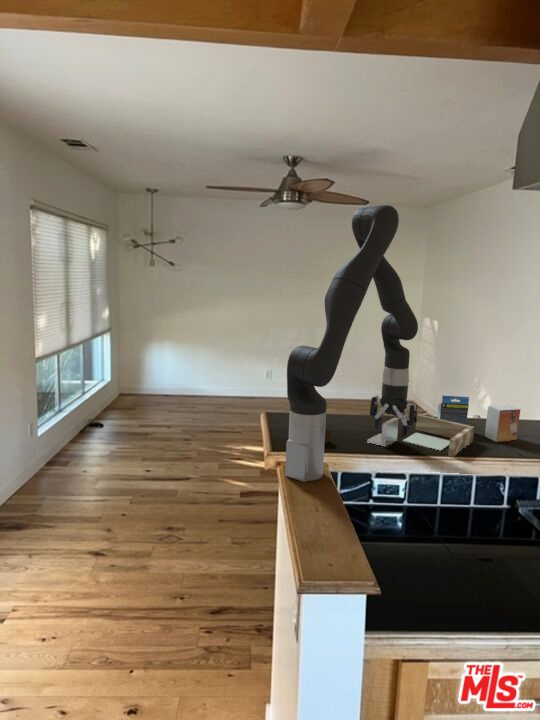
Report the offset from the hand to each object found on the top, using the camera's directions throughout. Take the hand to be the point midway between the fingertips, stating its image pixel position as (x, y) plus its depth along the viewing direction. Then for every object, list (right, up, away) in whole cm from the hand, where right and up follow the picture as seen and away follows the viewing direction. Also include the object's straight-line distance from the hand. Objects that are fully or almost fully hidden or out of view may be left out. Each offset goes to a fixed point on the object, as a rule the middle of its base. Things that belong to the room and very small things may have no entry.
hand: (391, 433), depth 154 cm
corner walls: (+14, -3, +4) cm, 15 cm away
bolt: (-22, -2, +7) cm, 23 cm away
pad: (+12, -3, +3) cm, 13 cm away
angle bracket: (-2, -3, +2) cm, 5 cm away
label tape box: (+24, -1, +16) cm, 28 cm away
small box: (+37, -3, +9) cm, 38 cm away
